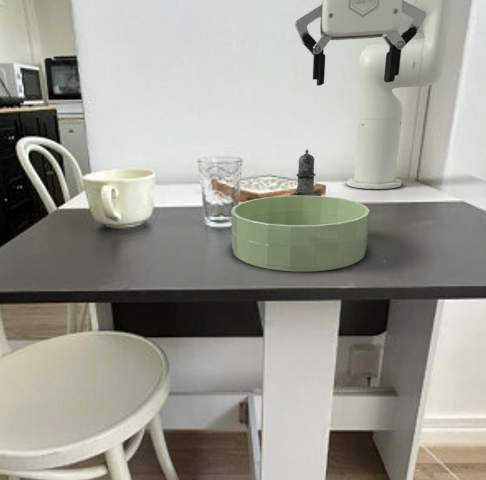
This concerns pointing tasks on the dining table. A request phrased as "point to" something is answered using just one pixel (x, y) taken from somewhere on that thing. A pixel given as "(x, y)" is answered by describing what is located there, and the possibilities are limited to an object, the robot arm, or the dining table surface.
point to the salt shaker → (306, 176)
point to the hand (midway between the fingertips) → (354, 83)
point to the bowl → (300, 232)
